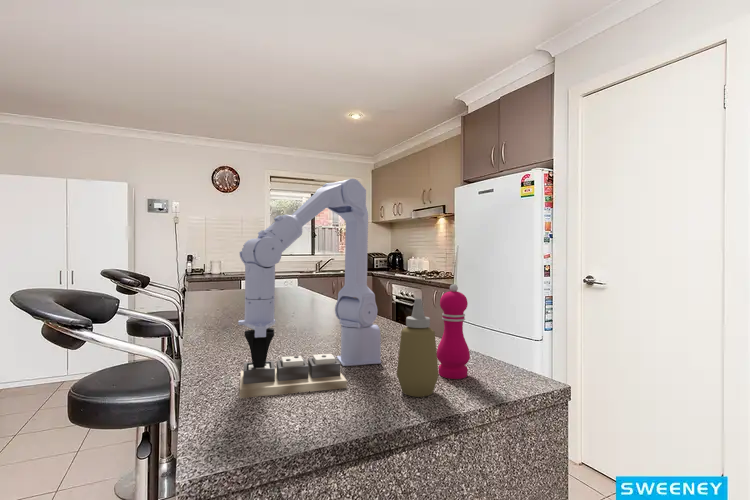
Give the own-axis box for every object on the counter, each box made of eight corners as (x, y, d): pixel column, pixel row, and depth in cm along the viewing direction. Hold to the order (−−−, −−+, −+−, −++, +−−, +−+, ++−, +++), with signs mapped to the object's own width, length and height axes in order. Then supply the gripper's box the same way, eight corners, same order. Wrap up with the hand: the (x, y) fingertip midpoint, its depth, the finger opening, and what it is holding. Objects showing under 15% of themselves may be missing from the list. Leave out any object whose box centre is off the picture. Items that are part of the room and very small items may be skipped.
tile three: (268, 373, 81) (269, 362, 81) (269, 379, 77) (269, 368, 77) (248, 374, 80) (248, 364, 80) (248, 381, 76) (248, 369, 76)
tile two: (300, 365, 83) (301, 355, 83) (303, 370, 79) (303, 359, 79) (281, 366, 82) (281, 356, 82) (282, 372, 78) (283, 361, 78)
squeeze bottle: (410, 403, 70) (412, 302, 71) (388, 389, 78) (389, 297, 78) (447, 395, 74) (448, 300, 74) (422, 383, 81) (423, 295, 81)
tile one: (331, 362, 85) (331, 352, 85) (335, 368, 81) (335, 357, 81) (312, 364, 84) (312, 354, 84) (315, 369, 80) (315, 359, 80)
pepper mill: (433, 370, 90) (433, 282, 91) (463, 369, 91) (464, 282, 91) (440, 380, 83) (441, 285, 83) (474, 379, 84) (475, 285, 84)
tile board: (334, 370, 89) (334, 352, 89) (346, 388, 78) (346, 367, 78) (241, 378, 83) (241, 359, 83) (239, 398, 72) (239, 376, 72)
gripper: (239, 294, 84) (238, 358, 84) (237, 303, 71) (236, 379, 71) (273, 294, 87) (272, 356, 86) (278, 302, 73) (277, 376, 73)
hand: (259, 366), depth 79 cm, fingers closed, pressing on tile three
